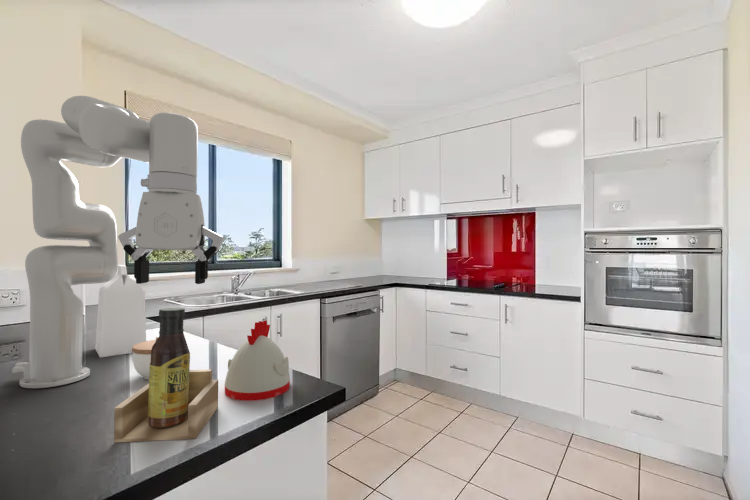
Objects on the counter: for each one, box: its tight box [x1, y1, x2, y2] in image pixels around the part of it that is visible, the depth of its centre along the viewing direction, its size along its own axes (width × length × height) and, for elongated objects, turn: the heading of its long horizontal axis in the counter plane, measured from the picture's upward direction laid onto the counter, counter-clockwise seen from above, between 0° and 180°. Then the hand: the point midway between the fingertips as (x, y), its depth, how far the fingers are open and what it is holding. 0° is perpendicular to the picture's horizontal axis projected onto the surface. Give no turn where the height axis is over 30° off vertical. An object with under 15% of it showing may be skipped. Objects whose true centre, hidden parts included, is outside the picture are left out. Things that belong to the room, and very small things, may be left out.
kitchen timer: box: [224, 320, 291, 402], centre depth 83 cm, size 14×14×15 cm
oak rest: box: [113, 369, 219, 444], centre depth 66 cm, size 12×12×8 cm
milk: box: [94, 264, 147, 358], centre depth 114 cm, size 12×12×26 cm
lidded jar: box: [132, 336, 159, 381], centre depth 91 cm, size 11×11×9 cm
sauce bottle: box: [148, 307, 191, 428], centre depth 65 cm, size 6×6×20 cm
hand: (171, 283), depth 66 cm, fingers open, 9 cm apart
